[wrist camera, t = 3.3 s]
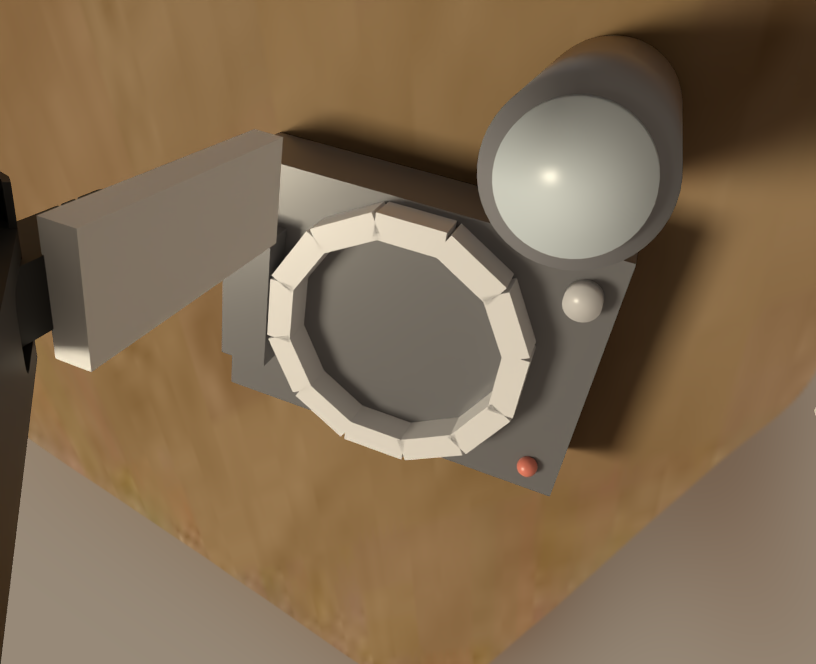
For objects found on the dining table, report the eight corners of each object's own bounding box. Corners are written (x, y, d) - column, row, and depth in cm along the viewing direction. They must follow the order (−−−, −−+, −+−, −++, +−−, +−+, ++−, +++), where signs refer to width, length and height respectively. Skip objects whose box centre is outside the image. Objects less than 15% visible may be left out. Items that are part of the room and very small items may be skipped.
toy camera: (267, 347, 41) (216, 396, 36) (279, 132, 34) (218, 159, 30) (561, 448, 37) (544, 517, 33) (641, 230, 30) (634, 279, 26)
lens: (519, 163, 31) (456, 246, 22) (555, 20, 28) (497, 52, 19) (652, 198, 30) (640, 300, 21) (706, 52, 26) (717, 103, 18)
